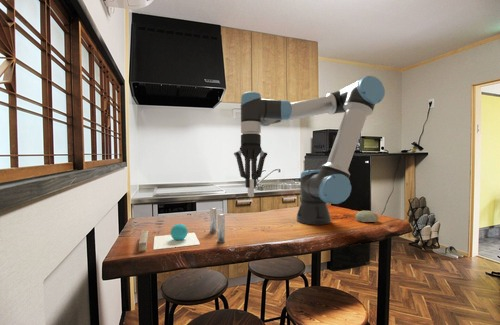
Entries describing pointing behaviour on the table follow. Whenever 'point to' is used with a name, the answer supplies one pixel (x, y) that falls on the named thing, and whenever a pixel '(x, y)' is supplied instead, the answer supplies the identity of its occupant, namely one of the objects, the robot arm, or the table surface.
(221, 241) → the post
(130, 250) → the table surface
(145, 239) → the wall
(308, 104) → the robot arm
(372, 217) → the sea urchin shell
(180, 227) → the ball
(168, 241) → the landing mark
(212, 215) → the post
